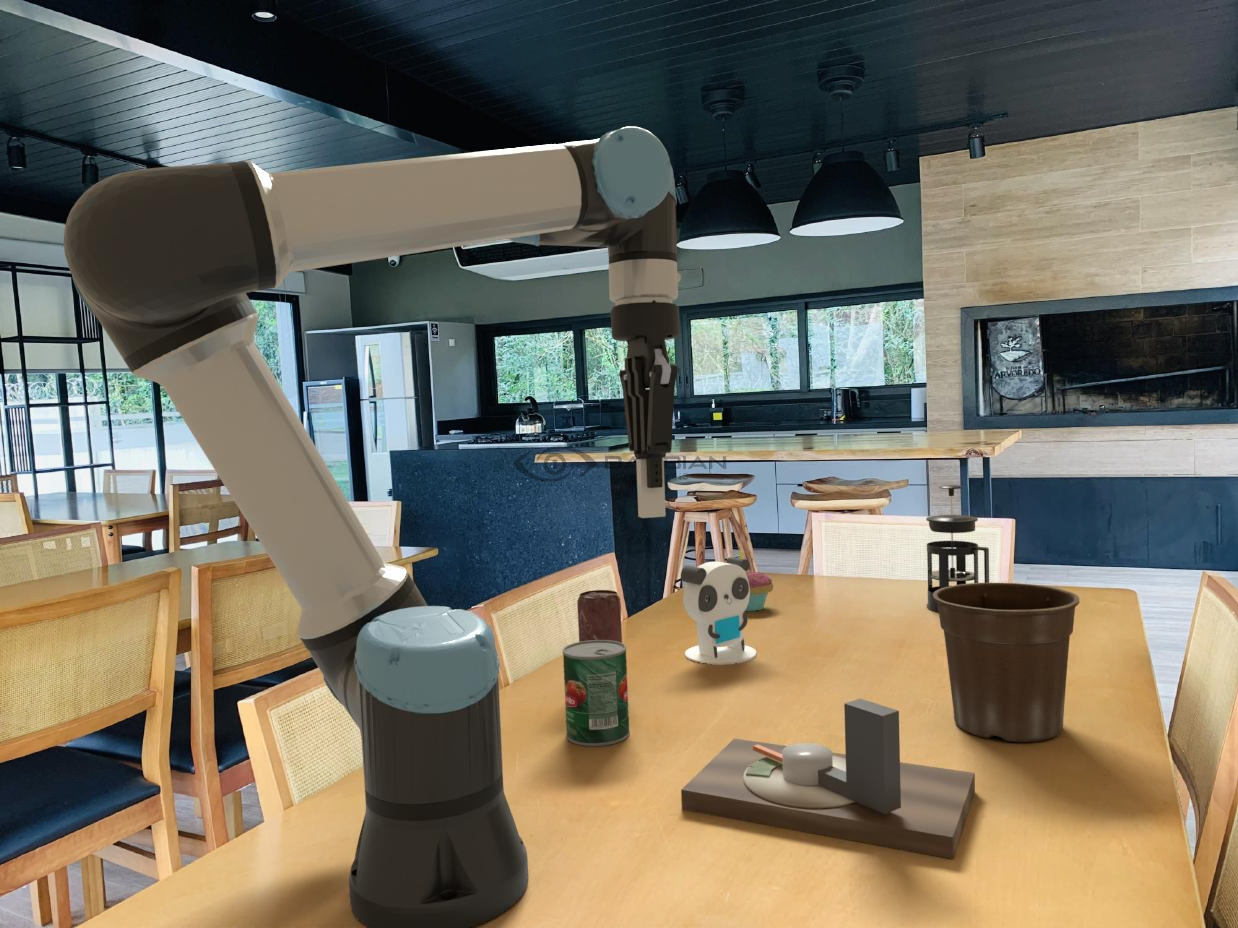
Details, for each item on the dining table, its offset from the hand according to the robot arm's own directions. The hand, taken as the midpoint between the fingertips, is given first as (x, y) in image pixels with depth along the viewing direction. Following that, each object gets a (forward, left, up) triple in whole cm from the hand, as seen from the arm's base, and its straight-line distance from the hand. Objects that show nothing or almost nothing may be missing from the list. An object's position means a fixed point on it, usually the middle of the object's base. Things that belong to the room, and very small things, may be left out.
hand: (651, 516), depth 104 cm
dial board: (-3, -20, -28) cm, 35 cm away
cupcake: (+75, +16, -29) cm, 82 cm away
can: (+21, +19, -28) cm, 40 cm away
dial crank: (-4, -19, -26) cm, 32 cm away
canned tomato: (+5, +11, -29) cm, 31 cm away
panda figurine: (+43, +10, -29) cm, 52 cm away
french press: (+86, -20, -28) cm, 93 cm away
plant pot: (+26, -34, -29) cm, 51 cm away
